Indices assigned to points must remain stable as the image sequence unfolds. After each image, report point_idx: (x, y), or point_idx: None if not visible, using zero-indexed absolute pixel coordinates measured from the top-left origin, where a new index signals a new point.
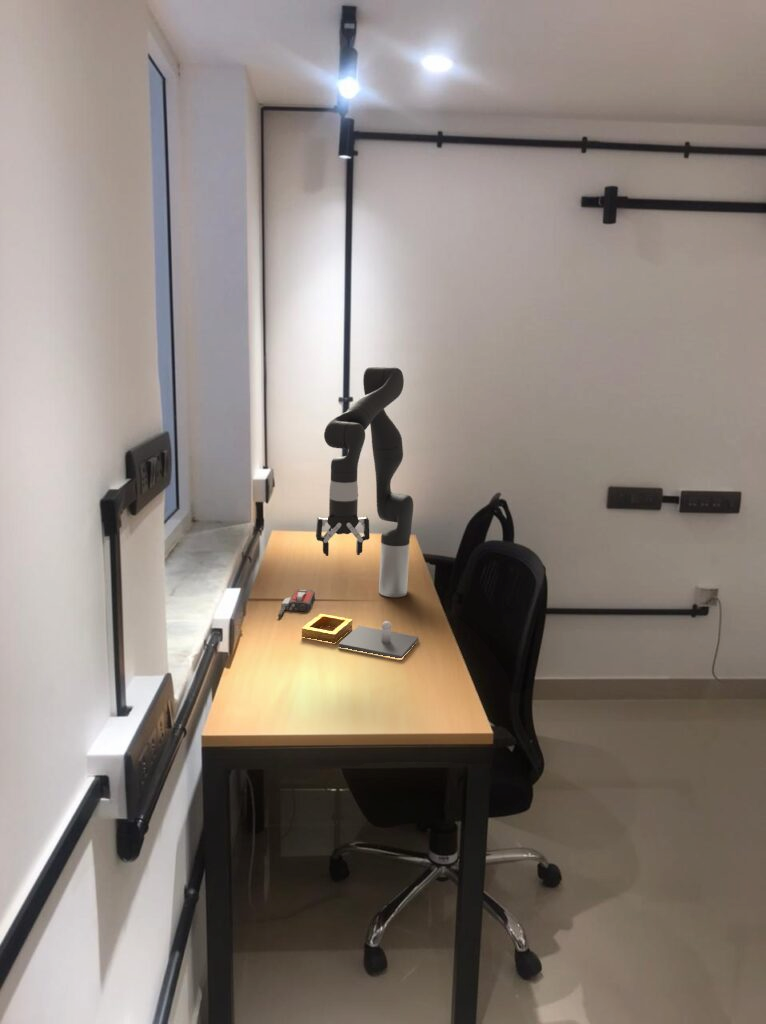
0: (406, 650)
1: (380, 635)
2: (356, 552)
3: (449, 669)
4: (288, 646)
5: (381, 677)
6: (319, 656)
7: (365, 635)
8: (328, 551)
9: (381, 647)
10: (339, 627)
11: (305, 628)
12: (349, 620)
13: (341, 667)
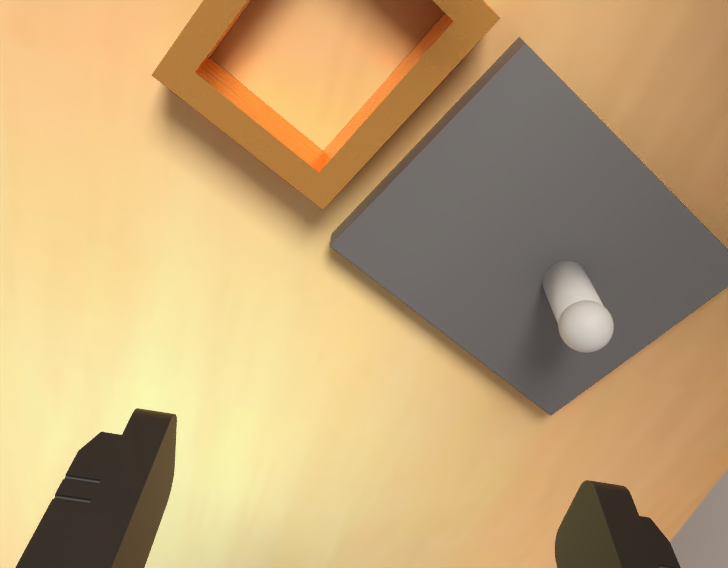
0: (600, 378)
1: (574, 211)
2: (585, 497)
3: (676, 486)
4: (91, 146)
5: (414, 478)
6: (227, 283)
7: (499, 191)
8: (152, 542)
9: (510, 331)
10: (375, 124)
11: (171, 88)
12: (474, 32)
13: (296, 387)
